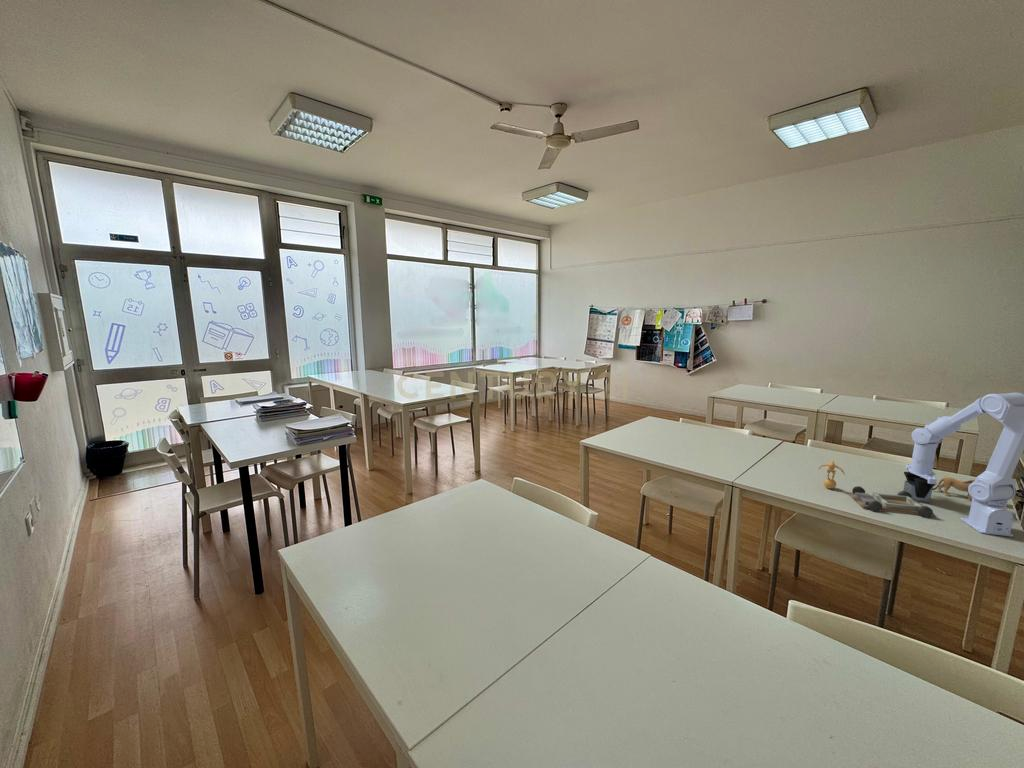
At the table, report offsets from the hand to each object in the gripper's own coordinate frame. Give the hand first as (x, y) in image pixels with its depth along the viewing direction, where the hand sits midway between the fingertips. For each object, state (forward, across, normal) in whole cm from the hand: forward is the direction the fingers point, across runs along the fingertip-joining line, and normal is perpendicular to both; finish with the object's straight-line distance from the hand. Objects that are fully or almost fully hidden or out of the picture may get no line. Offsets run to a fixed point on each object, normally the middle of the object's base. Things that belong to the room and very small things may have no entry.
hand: (916, 494), depth 154 cm
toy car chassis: (+2, -9, +12) cm, 15 cm away
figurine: (+2, +1, +27) cm, 27 cm away
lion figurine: (+2, +6, -16) cm, 18 cm away
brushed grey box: (+2, 0, 0) cm, 2 cm away
